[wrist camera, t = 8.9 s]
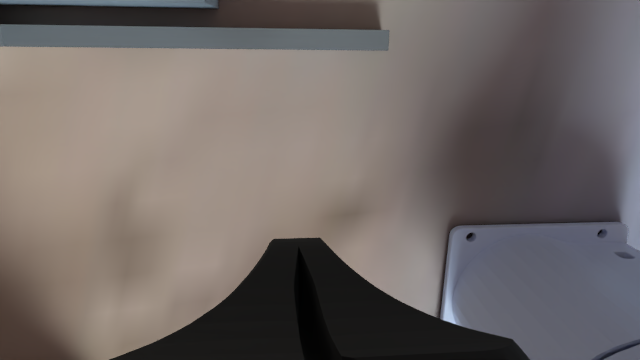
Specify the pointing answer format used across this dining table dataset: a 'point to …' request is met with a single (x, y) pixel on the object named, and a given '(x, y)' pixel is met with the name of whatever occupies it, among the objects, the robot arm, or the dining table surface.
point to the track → (191, 37)
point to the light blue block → (120, 3)
